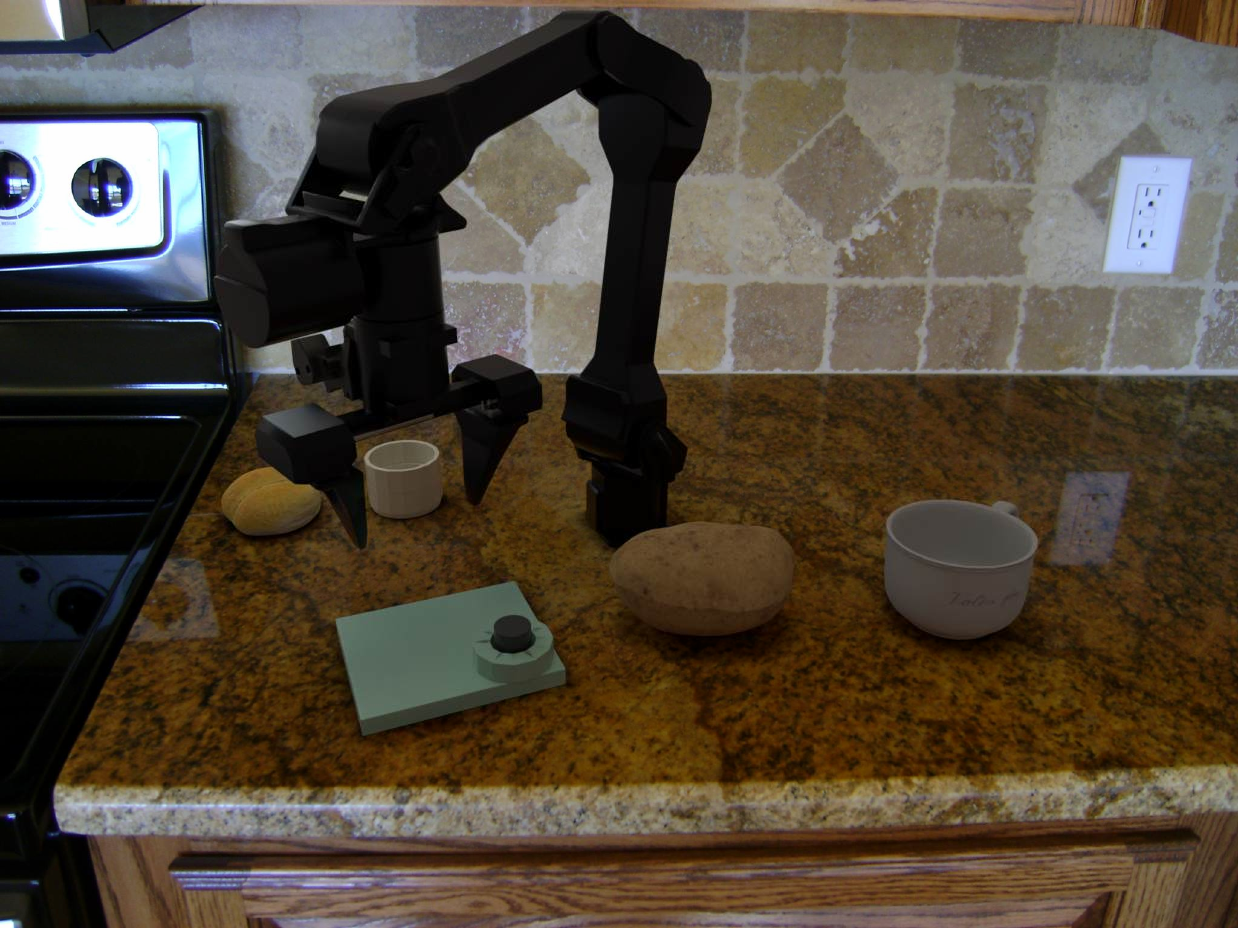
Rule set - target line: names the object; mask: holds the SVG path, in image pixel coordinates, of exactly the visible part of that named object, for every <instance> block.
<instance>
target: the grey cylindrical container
mask: <svg viewBox="0 0 1238 928" xmlns="http://www.w3.org/2000/svg"><path fill="white" fill-rule="evenodd" d="M363 461H364V463H363V464H364V469H365V480H366V487H367V495H368V502H369V504H370V507H371V508H372V510H373V511H374V513H376V514H377V515H379V516H382V517H385V518H389V519H403V520H404V519H413V518H417V517H421V516H424V515H427V514H429V513H431V512H433V511H434V510H436V509H437V508H438V507H439V506H440V504H441V501H442V498H443V495H444V490H443V478H442V477H443V476H442V466H441V465H442V464H441V463H442V462H441V453H440V450H439V449H438V447H437V446H436V445H434V444H432V443H430V442H427V441H422V440H416V439H400V440H393V441H387V442H384V443H381V444H379V445H376V446H374V447H373V448H371V449H369V450H368V451H367V452H366V453H365V456H364V457H363Z"/></svg>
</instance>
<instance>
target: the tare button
mask: <svg viewBox="0 0 1238 928" xmlns="http://www.w3.org/2000/svg"><path fill="white" fill-rule="evenodd" d="M493 628H494V645H495V648H496V649H497V650H498V651H499V652H501V653H508V654H515V653H520V652H524V651H526V650H528V649H529V648H530V646H531V644H532V634H531V622H530V621H529V620H528V619H527V618H526V617H524V616H520V615H507V616H504V617H501V618H500V619H498V620H497V621H496V622H495V624H494V627H493Z"/></svg>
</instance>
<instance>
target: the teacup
mask: <svg viewBox="0 0 1238 928" xmlns="http://www.w3.org/2000/svg"><path fill="white" fill-rule="evenodd" d="M1019 515H1020V514H1019V509H1018V507H1017V506H1016V505H1015V504H1014V503H1012V502H1009V501H1007V500H1006V501H1005V500H998V501H996V502H994V503H993V504H992V505H991V506H989V505H986V504H982V503H977V502H971V501H967V500H966V501H965V500H957V499H928V500H927V499H926V500H921V501H916V502H911V503H908V504H905V505H902V506H900V507H898V508H896V509H895V510H893V511H892V512H891V513H890V514H889V515H888V516H887V519H886V522H885V533H886V540H885V548H884V549H885V552H884V568H883V575H884V576H883V577H884V581H883V582H884V588H885V593H886V595H887V598H888V600H889V602H890V604H891V605H892V606H893V608H894V609H895V610H896V612H898V613H899V614H900V615H901V616H902V617H904V618H905V619H906V620H908V621H909V622H910V623H911V624H912V625H913V626H915V627H916V628H918V629H920V630H921V631H923V632H925V633H927V634H930V635H933V636H936V637H938V638H942V639H943V638H944V639H948V640H958V641H962V640H963V641H965V640H974V639H978V638H982V637H985V636H988V635H990V634H993V633H996V632H999V631H1001V630H1002V629H1004V628H1006V627H1008V626H1010V624H1011V623H1013V622H1014V621H1015V620H1016V619H1017V618H1018V616H1019V615H1020V613H1021V612H1022V610H1023V607H1024V605H1025V602H1026V599H1027V595H1028V591H1029V586H1030V584H1031V583H1030V582H1031V577H1032V572H1033V566H1034V561H1035V555H1036V554H1037V551H1038V548H1039V538H1038V537H1037V534H1036V532H1035V531H1034V530H1033V529H1032V528H1031V526H1029V525H1028V524H1027V523H1026V522H1024V521H1022V519H1020V518H1019Z"/></svg>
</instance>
